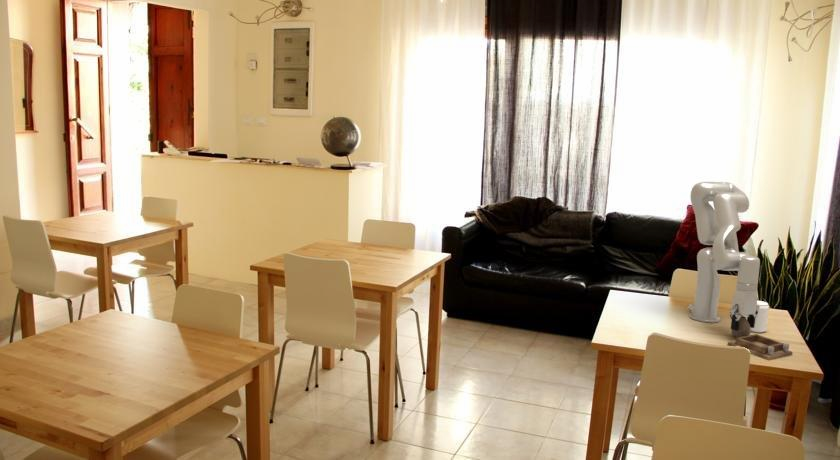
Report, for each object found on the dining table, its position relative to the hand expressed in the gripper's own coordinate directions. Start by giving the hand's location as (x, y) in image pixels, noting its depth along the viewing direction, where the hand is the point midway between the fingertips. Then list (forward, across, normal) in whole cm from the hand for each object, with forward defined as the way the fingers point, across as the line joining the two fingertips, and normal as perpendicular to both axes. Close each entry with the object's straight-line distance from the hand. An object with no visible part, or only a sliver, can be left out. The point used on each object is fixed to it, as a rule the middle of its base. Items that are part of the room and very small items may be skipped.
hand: (742, 328), depth 293 cm
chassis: (+4, +6, +12) cm, 14 cm away
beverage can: (+4, -15, -5) cm, 17 cm away
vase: (+4, 0, -1) cm, 4 cm away
